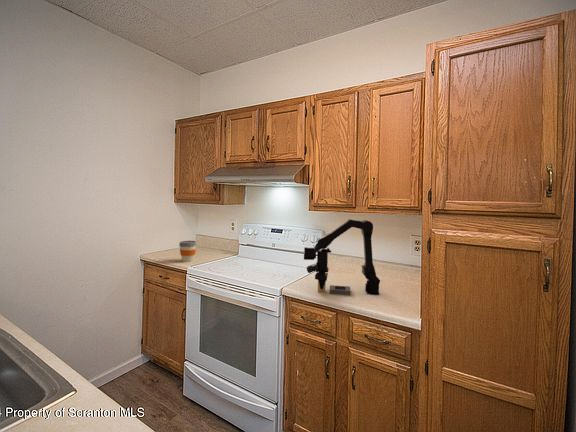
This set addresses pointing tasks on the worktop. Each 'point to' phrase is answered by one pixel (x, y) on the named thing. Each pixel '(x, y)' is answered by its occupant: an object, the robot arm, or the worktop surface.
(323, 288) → the brass block
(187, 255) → the reusable coffee cup
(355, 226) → the robot arm
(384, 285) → the worktop surface
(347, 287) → the steel rail
